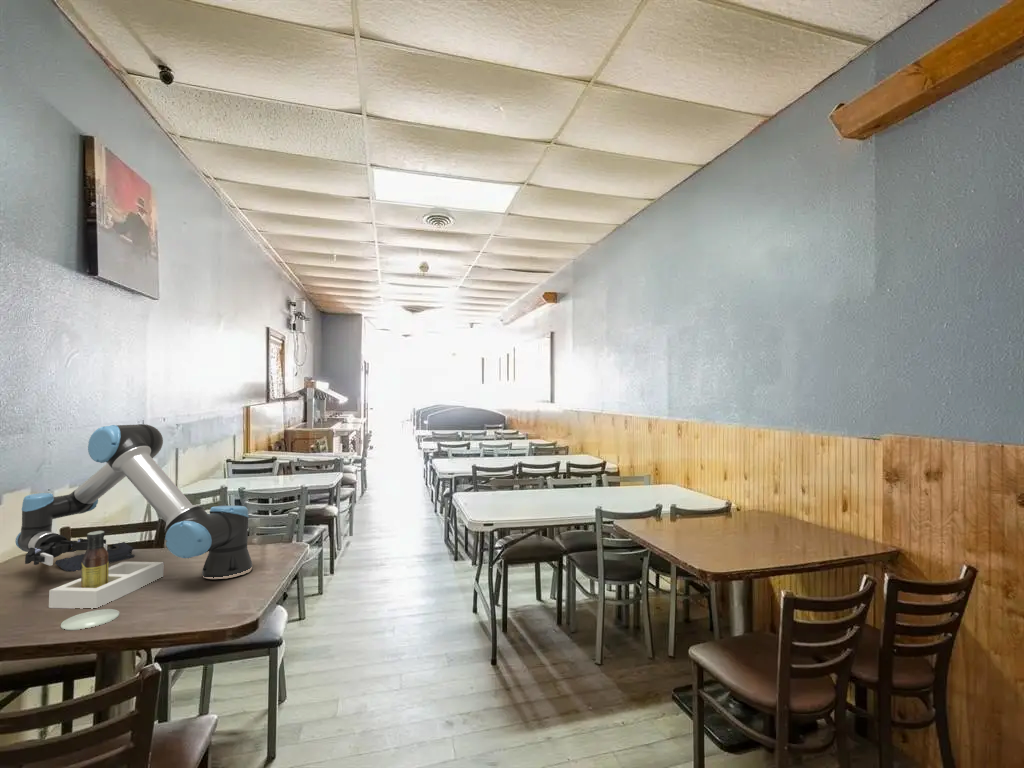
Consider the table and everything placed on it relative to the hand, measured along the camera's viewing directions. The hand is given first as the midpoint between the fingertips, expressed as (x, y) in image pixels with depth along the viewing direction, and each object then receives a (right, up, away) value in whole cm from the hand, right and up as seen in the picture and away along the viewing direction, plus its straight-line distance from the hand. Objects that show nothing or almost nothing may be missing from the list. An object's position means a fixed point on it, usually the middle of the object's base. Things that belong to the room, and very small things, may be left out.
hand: (79, 554), depth 152 cm
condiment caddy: (+9, -12, +1) cm, 15 cm away
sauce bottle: (+9, -12, -5) cm, 16 cm away
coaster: (+20, -11, -20) cm, 30 cm away
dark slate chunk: (-20, -13, +30) cm, 39 cm away
